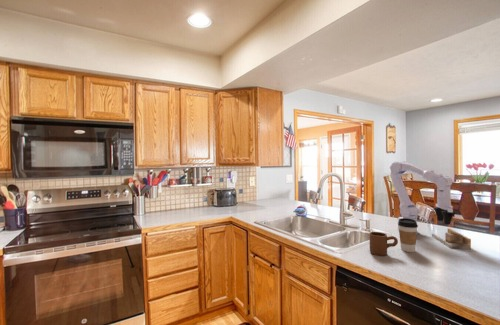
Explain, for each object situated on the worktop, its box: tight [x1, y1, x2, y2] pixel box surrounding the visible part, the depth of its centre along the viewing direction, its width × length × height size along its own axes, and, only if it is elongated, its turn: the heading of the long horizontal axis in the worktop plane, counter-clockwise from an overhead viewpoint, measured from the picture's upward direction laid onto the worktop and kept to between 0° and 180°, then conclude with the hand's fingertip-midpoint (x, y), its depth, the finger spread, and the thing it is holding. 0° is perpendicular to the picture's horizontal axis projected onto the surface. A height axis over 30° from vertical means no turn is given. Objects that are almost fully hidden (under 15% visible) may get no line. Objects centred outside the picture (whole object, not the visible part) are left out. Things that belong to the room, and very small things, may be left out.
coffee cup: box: [397, 218, 419, 253], centre depth 120 cm, size 8×8×15 cm
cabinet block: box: [444, 232, 464, 244], centre depth 125 cm, size 6×4×7 cm
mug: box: [369, 231, 399, 257], centre depth 116 cm, size 12×8×9 cm, turn 61°
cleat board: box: [431, 228, 472, 250], centre depth 130 cm, size 9×19×5 cm, turn 165°
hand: (443, 222), depth 133 cm, fingers open, 7 cm apart
